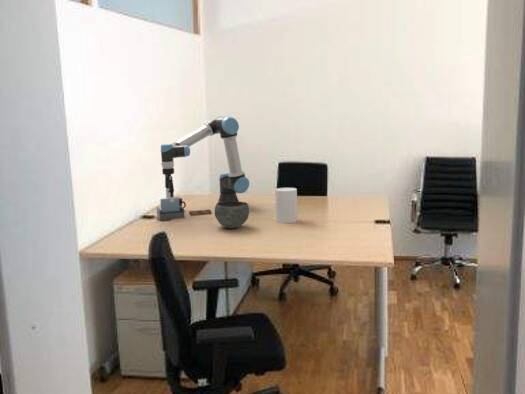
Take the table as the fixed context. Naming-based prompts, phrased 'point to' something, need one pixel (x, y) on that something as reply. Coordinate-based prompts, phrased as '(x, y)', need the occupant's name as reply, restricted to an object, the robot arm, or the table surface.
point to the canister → (286, 205)
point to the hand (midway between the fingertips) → (170, 200)
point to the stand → (200, 212)
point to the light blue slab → (169, 205)
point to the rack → (170, 214)
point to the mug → (181, 202)
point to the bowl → (231, 213)
